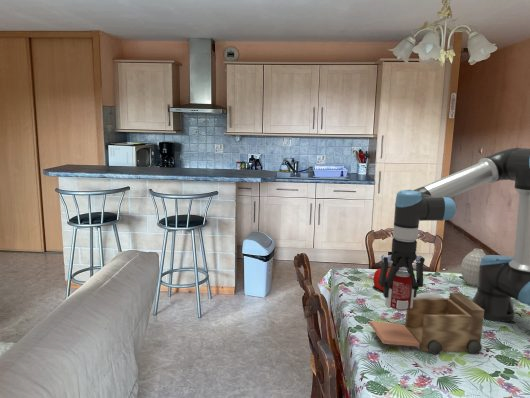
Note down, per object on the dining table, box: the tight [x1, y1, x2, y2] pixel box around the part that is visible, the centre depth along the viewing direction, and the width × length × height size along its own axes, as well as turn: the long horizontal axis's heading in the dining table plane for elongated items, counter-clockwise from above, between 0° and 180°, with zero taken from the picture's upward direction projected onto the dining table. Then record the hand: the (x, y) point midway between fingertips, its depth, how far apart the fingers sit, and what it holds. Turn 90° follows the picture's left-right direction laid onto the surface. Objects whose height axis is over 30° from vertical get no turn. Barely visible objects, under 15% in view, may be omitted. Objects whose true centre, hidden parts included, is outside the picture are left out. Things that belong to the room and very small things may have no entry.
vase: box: [460, 248, 487, 287], centre depth 193 cm, size 13×13×17 cm
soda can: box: [390, 269, 412, 312], centre depth 136 cm, size 7×7×12 cm
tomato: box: [372, 267, 391, 292], centre depth 184 cm, size 11×12×9 cm
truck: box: [404, 292, 485, 355], centre depth 139 cm, size 19×17×14 cm
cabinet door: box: [369, 320, 420, 348], centre depth 138 cm, size 2×13×12 cm
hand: (398, 306), depth 137 cm, fingers closed on soda can, 7 cm apart
